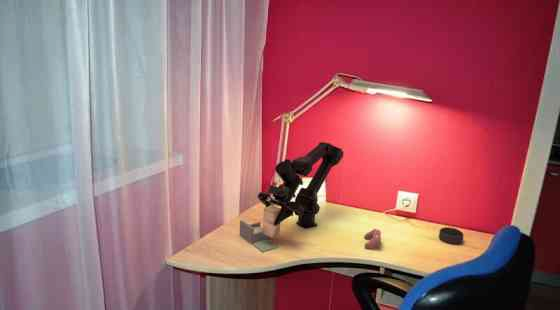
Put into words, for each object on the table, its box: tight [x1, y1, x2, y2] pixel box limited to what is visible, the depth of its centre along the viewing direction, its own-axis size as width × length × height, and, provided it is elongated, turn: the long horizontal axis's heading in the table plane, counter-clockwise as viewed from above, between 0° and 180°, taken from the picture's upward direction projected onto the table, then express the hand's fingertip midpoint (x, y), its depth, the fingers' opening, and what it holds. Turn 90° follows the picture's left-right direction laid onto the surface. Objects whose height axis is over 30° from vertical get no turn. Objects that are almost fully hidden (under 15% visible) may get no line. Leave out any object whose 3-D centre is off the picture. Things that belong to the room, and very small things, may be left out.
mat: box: [251, 239, 279, 253], centre depth 146 cm, size 7×7×1 cm
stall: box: [239, 219, 272, 245], centre depth 152 cm, size 9×9×6 cm
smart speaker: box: [438, 226, 464, 245], centre depth 159 cm, size 9×9×4 cm
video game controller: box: [363, 228, 382, 250], centre depth 151 cm, size 10×5×7 cm, turn 169°
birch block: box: [262, 205, 281, 238], centre depth 146 cm, size 4×4×10 cm
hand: (269, 223), depth 145 cm, fingers closed on birch block, 4 cm apart
